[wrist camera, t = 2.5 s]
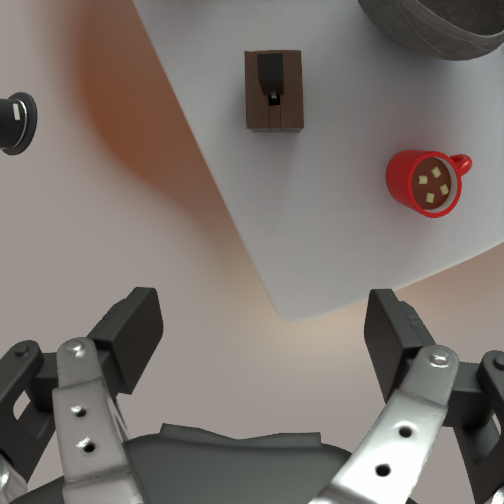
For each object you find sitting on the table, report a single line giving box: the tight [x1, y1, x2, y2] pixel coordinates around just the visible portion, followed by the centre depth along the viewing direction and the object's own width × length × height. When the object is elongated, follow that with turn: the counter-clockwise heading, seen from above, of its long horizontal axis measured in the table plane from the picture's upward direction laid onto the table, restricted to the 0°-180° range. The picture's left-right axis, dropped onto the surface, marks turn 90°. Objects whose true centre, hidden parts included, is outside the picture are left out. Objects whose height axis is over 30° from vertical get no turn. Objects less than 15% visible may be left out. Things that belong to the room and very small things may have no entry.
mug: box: [386, 150, 472, 218], centre depth 34 cm, size 8×12×8 cm, turn 122°
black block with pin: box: [257, 53, 284, 105], centre depth 29 cm, size 2×3×17 cm, turn 2°
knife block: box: [245, 50, 304, 132], centre depth 33 cm, size 6×9×8 cm, turn 1°
